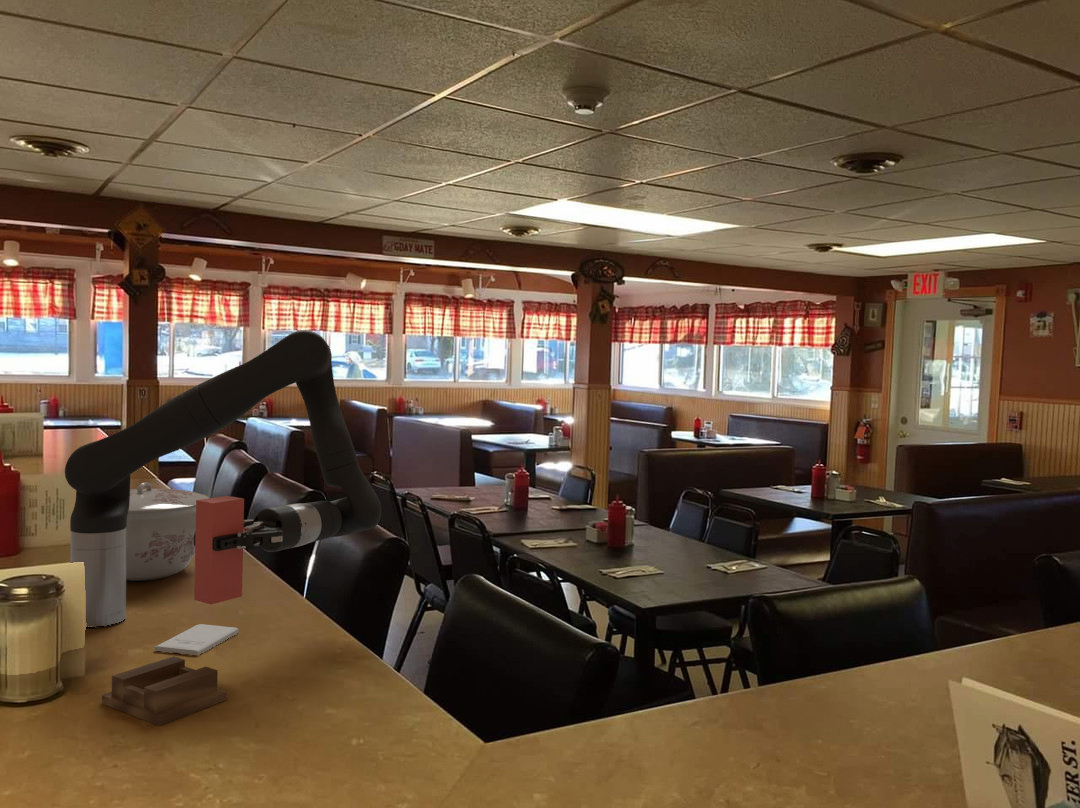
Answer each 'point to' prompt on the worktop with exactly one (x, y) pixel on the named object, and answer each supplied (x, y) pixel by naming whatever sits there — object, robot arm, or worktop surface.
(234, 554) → the salmon rectangular prism
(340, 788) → the worktop surface
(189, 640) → the external hard drive
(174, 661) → the rack
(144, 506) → the chamber pot
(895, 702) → the worktop surface
